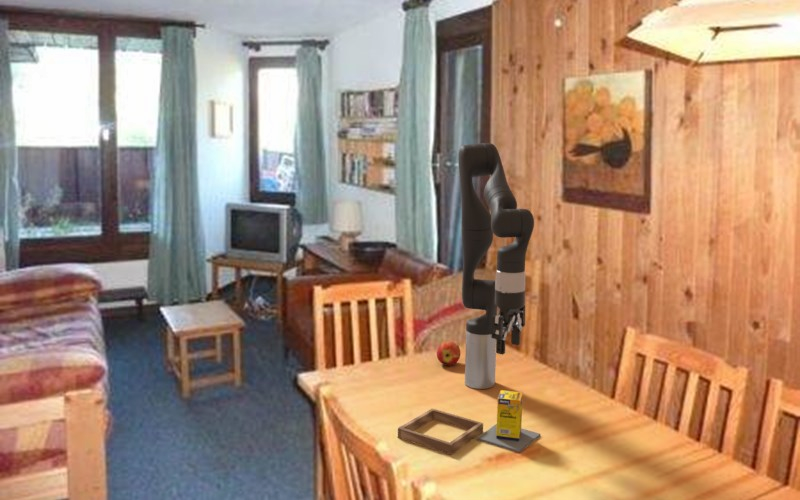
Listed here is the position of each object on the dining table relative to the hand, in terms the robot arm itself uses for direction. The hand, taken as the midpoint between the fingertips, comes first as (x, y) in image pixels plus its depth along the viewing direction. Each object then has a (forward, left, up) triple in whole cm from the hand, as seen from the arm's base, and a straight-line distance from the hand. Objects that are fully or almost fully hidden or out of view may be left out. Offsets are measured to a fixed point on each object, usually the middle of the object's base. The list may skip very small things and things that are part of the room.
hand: (508, 348), depth 176 cm
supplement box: (+2, +2, -22) cm, 23 cm away
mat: (+2, +2, -23) cm, 23 cm away
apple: (-37, -40, -23) cm, 59 cm away
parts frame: (+11, -13, -23) cm, 29 cm away
